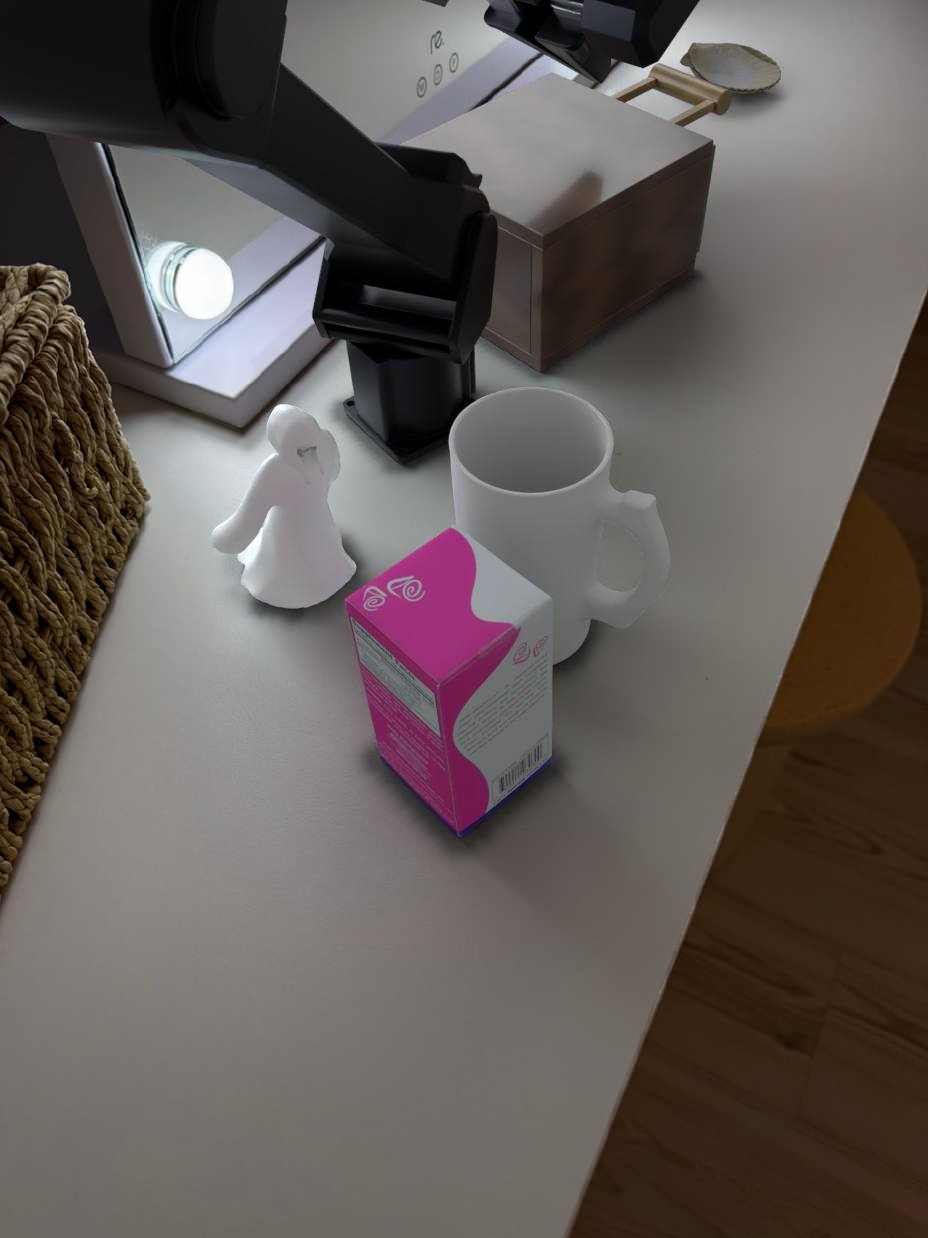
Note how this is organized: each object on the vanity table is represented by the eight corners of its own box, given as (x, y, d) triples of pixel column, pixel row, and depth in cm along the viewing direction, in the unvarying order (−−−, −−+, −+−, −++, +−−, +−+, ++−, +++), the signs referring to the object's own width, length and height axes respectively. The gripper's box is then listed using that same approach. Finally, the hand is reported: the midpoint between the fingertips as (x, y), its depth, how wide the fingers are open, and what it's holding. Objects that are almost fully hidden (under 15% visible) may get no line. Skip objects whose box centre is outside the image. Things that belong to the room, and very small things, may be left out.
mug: (435, 641, 51) (417, 461, 42) (500, 553, 55) (498, 368, 45) (620, 724, 48) (647, 548, 38) (677, 624, 51) (714, 440, 42)
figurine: (294, 649, 51) (244, 471, 42) (191, 573, 55) (124, 393, 45) (398, 560, 55) (374, 377, 45) (295, 494, 58) (253, 312, 49)
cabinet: (548, 201, 77) (551, 71, 69) (693, 274, 70) (714, 139, 63) (396, 283, 71) (383, 151, 63) (540, 372, 64) (543, 235, 57)
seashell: (752, 133, 85) (791, 71, 88) (761, 102, 82) (801, 39, 85) (662, 96, 87) (703, 37, 89) (668, 65, 84) (710, 5, 87)
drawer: (618, 157, 78) (627, 45, 72) (753, 218, 72) (775, 102, 66) (427, 260, 71) (419, 145, 64) (560, 339, 64) (565, 219, 58)
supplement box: (468, 685, 49) (457, 516, 40) (555, 763, 46) (564, 601, 38) (373, 756, 47) (339, 594, 38) (458, 843, 44) (444, 690, 35)
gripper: (743, -296, 43) (814, -11, 56) (449, -313, 53) (567, -68, 66) (589, -64, 44) (694, 163, 57) (328, -124, 54) (468, 81, 67)
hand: (602, 75), depth 62 cm, fingers closed
